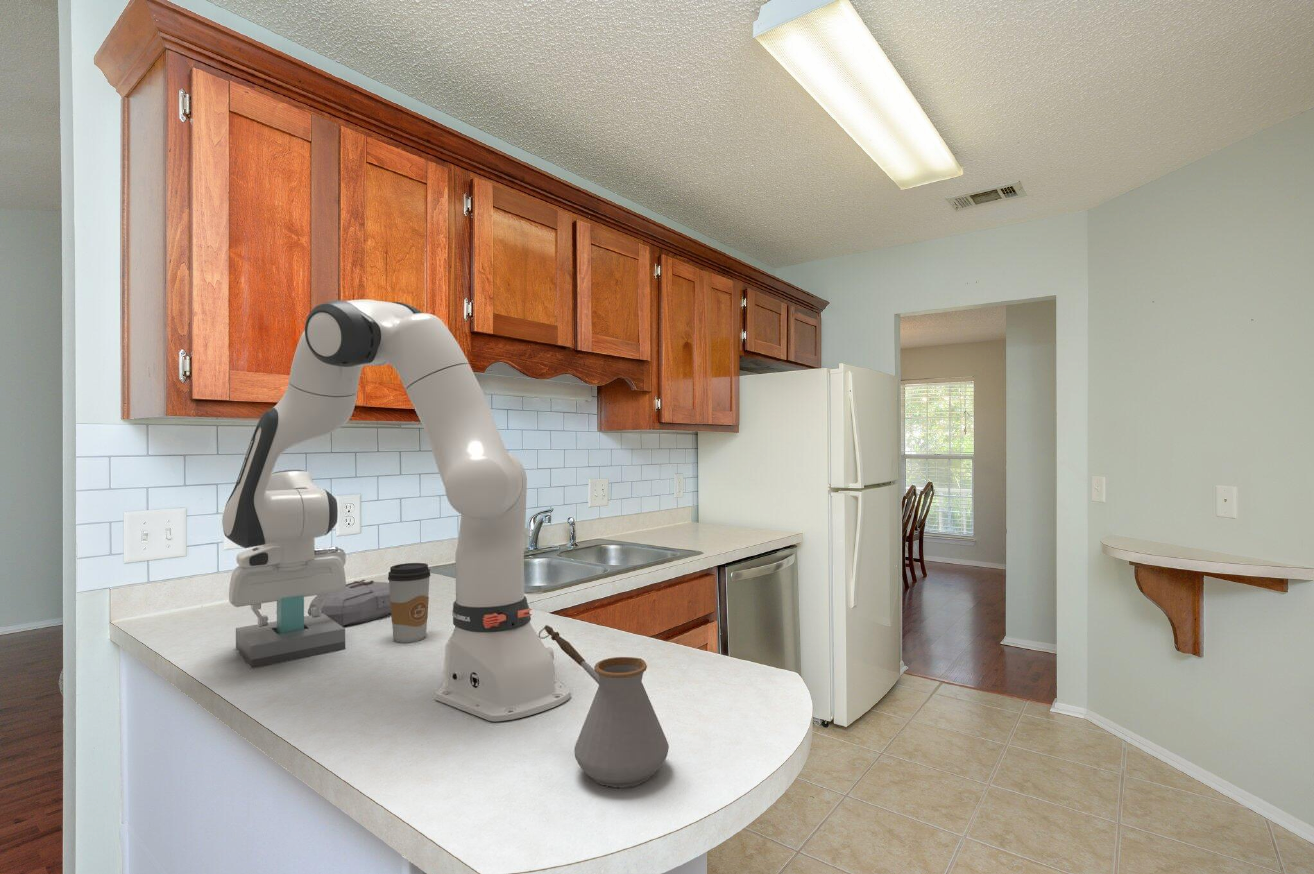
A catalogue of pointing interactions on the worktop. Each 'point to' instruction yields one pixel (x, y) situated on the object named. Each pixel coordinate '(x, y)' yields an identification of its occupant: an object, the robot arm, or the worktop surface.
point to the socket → (289, 641)
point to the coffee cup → (409, 601)
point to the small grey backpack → (356, 603)
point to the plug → (290, 614)
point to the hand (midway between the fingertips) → (290, 621)
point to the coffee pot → (618, 723)
